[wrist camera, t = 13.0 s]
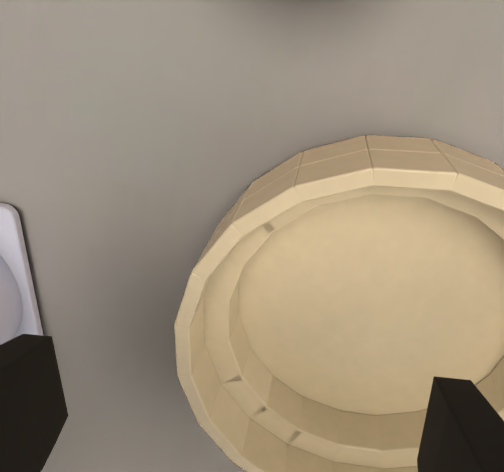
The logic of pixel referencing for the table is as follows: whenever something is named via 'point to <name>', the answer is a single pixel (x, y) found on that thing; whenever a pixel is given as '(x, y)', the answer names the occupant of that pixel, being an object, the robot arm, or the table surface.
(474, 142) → the table surface
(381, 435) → the cream bowl
